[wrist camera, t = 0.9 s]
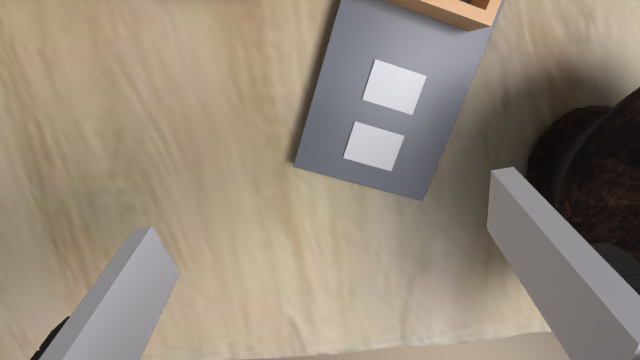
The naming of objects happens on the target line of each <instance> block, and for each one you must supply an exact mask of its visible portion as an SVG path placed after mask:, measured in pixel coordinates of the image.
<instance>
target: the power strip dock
mask: <svg viewBox="0 0 640 360" xmlns="http://www.w3.org/2000/svg"><path fill="white" fill-rule="evenodd" d="M504 1H505V0H340V1H339V4H338V8H337V12H336V15H335V19H334V22H333V26H332V29H331V33H330V36H329V40H328V43H327V47H326V50H325V54H324V57H323V61H322V64H321V68H320V71H319V75H318V78H317V82H316V85H315V89H314V92H313V96H312V100H311V103H310V107H309V110H308V114H307V117H306V121H305V124H304V128H303V131H302V135H301V138H300V142H299V145H298V149H297V152H296V156H295V159H294V167H297V168H301V169H304V170H308V171H312V172H316V173H319V174H323V175H327V176H331V177H334V178H338V179H342V180H345V181H349V182H353V183H357V184H360V185H364V186H368V187H372V188H375V189H379V190H383V191H386V192H390V193H394V194H398V195H401V196H405V197H409V198H413V199H416V200H420V201H423V199H424V196H425V194H426V192H427V189H428V187H429V184H430V182H431V179H432V177H433V174H434V172H435V170H436V167H437V165H438V162H439V160H440V157H441V155H442V152H443V150H444V147H445V145H446V143H447V140H448V138H449V135H450V133H451V130H452V128H453V125H454V123H455V121H456V118H457V116H458V113H459V111H460V108H461V106H462V103H463V101H464V99H465V96H466V94H467V91H468V89H469V86H470V84H471V81H472V79H473V77H474V74H475V72H476V69H477V67H478V64H479V62H480V59H481V57H482V55H483V52H484V50H485V47H486V45H487V42H488V40H489V37H490V35H491V33H492V30H493V28H494V25H495V23H496V20H497V18H498V15H499V13H500V11H501V8H502V6H503V3H504Z"/></svg>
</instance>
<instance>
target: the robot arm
mask: <svg viewBox="0 0 640 360" xmlns="http://www.w3.org/2000/svg"><path fill="white" fill-rule="evenodd" d="M487 230H488V232H489V233H490V235H491V236H492V238H493V239H494V241H495V243H496V244H497V246H498V247H499V249H500V250H501V252H502V254H503V255H504V257H505V258H506V260H507V261H508V263H509V264H510V266H511V268H512V269H513V271H514V272H515V274H516V275H517V277H518V278H519V280H520V282H521V283H522V285H523V286H524V288H525V289H526V291H527V293H528V294H529V296H530V297H531V299H532V300H533V302H534V303H535V305H536V307H537V308H538V310H539V311H540V313H541V314H542V316H543V317H544V319H545V321H546V322H547V324H548V325H549V327H550V328H551V330H552V332H553V333H554V335H555V336H556V338H557V339H558V341H559V342H560V344H561V345H562V347H563V349H564V350H565V352H566V353H567V355H568V356H569V358H570V360H640V263H639V262H638V261H637V260H636V259H635V258H634V257H633V256H632V255H631V254H629V253H627V252H625V251H624V250H622V249H620V248H618V247H616V246H614V245H612V244H611V243H609V242H606V243H598V244H591V245H589V243H588V242H587V241H586V240H585V239H584V238H583V237H582V236H581V235H580V234H579V233H578V232H577V231H576V230H575V229H574V228H573V227H572V226H571V225H570V224H569V223H568V222H567V221H566V220H565V219H564V218H563V217H562V216H561V215H560V214H559V213H558V212H557V211H556V210H555V209H554V208H553V207H552V206H551V205H550V204H549V203H548V202H547V201H546V200H545V199H544V198H543V197H542V196H541V195H540V194H539V192H538V191H537V190H536V189H535V188H534V187H533V186H532V185H531V184H530V183H529V182H528V181H527V180H526V179H525V178H524V177H523V176H522V175H521V174H520V173H519V172H518V171H517V170H516V169H515V168H514V167H509V168H503V169H497V170H491V178H490V191H489V205H488V218H487ZM179 275H180V272H179V271H178V269H177V267H176V265H175V264H174V262H173V260H172V259H171V257H170V255H169V254H168V252H167V250H166V249H165V247H164V245H163V244H162V242H161V240H160V239H159V237H158V235H157V233H156V232H155V230H154V228H153V227H152V226H147V227H141V228H135V229H134V230H133V231H132V232H131V234H130V235H129V237H128V238H127V239H126V241H125V242H124V243H123V245H122V246H121V248H120V249H119V250H118V252H117V253H116V254H115V256H114V257H113V258H112V260H111V261H110V263H109V264H108V265H107V267H106V268H105V269H104V271H103V272H102V274H101V275H100V276H99V278H98V279H97V280H96V282H95V283H94V285H93V286H92V287H91V289H90V290H89V291H88V293H87V294H86V296H85V297H84V298H83V300H82V301H81V302H80V304H79V305H78V307H77V308H76V309H75V311H74V312H73V313H72V315H71V316H68V317H67V318H66V319H64V320H63V321H62V322H61V323H60V324H59V325H58V326H57V327H56V328H55V329H54V330H52V331H51V333H50V334H49V335H48V337H47V338H46V339H45V341H44V342H43V343H42V345H41V346H40V347H39V348H40V349H39V351H36V353H35V354H34V355H33V357H32V358H31V359H30V360H140V358H141V356H142V354H143V352H144V350H145V347H146V345H147V343H148V341H149V339H150V337H151V335H152V332H153V330H154V328H155V326H156V324H157V322H158V320H159V317H160V315H161V313H162V311H163V309H164V307H165V305H166V303H167V300H168V298H169V296H170V294H171V292H172V290H173V288H174V285H175V283H176V281H177V279H178V277H179Z"/></svg>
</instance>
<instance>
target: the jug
mask: <svg viewBox="0 0 640 360" xmlns="http://www.w3.org/2000/svg"><path fill="white" fill-rule="evenodd" d="M530 149H531V148H530ZM526 166H528V169H527V172H526V178H527V181H528V182H529V183H530V184H531V185H532V186H533V187H534V188H535V189H536V190H537V191H538V192H539V194H540V195H541V196H542V197H543V198H544V199H545V200H546V201H547V202H548V203H549V204H550V205H551V206H552V207H553V208H554V209H555V210H556V211H557V212H558V213H559V214H560V215H561V216H562V217H563V218H564V219H565V220H566V221H567V222H568V223H569V224H570V225H571V226H572V227H573V228H574V229H575V230H576V231H577V232H578V233H579V234H580V235H581V236H582V237H583V238H584V239H585V240H586V241H587V242H588V243H589V245H591V244H598V243H606V242H609V243H611V244H612V245H614V246H616V247H618V248H620V249H622V250H624V251H625V252H627V253H629V254H631V255H632V256H633V257H634V258H635V259H636V260H637V261H638V262H639V263H640V87H639V88H638V89H636V90H635V91H634V92H632V93H631V94H629V95H628V96H626V97H625V98H624V99H623V100H622V101H620V102H619V103H618V104H617V105H616V106H615V107H614V108H613V107H610V106H589V107H585V108H577V109H574V110H572V111H571V112H569V113H568V114H566V115H564V116H563V117H561V118H560V119H558V120H557V121H556V122H554V123H553V125H552V126H551V127H550V128H549V129H548V130H547V131H546V132H545V133H544V134H543V135H541V136H540V137H539V138H538V140H537V141H536V142H535V145H534V149H533V151H532V153H531V155H530V157H529V158H528V162H527V164H526Z"/></svg>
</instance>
